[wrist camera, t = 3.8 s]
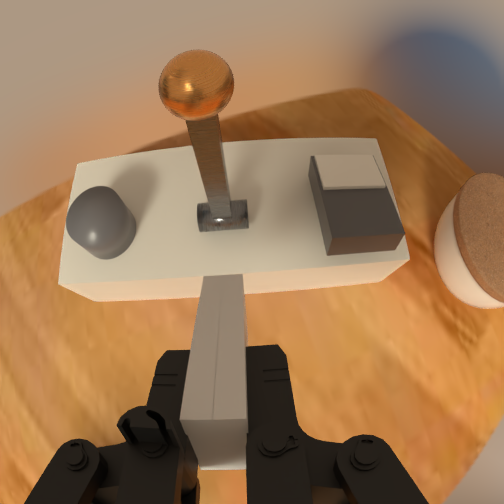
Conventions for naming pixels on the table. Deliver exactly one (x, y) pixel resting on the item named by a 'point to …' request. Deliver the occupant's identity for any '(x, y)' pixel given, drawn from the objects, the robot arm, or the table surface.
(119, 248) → the button
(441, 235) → the lidded jar
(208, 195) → the lever
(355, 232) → the block
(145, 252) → the console
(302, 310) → the table surface
